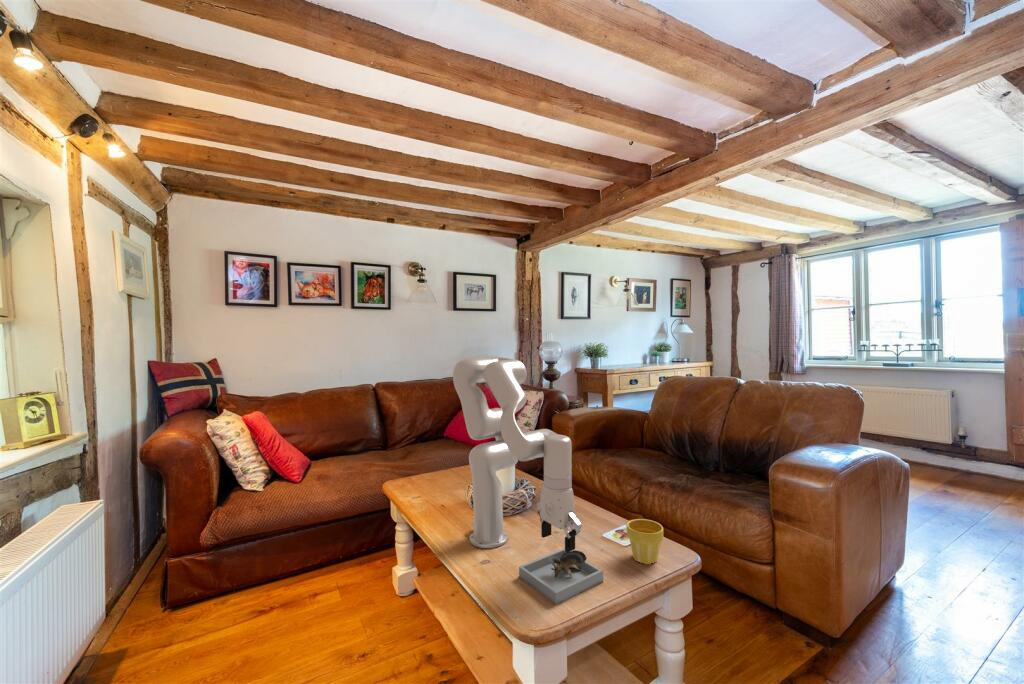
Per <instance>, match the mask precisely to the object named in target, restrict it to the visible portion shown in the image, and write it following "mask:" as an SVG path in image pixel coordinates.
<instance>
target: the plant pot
mask: <svg viewBox="0 0 1024 684" xmlns="http://www.w3.org/2000/svg"><path fill="white" fill-rule="evenodd" d="M626 536H627V538H628V539H629V543H630V547H631V553H632V557H633V559H634V560H635V561H636V562H637V561H638V562H637V563H639V562H640V563H639V564H642V563H644V564H643V565H652V564H651V563H653V564H655V563H657V561H658V557H659V552H660V548H661V544H662V542H663V541H664V527H663V525H662V524H661V523H659V522H657V521H654V520H651V519H645V518H637V519H636V518H635V519H630V520H628V522H627V523H626ZM654 562H655V563H654Z"/></svg>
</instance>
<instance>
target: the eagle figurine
mask: <svg viewBox="0 0 1024 684" xmlns="http://www.w3.org/2000/svg"><path fill="white" fill-rule="evenodd" d="M587 559H588V557H587V555H586V554H585V553H584V552H583V551H580V550H576V549H574V550H572V551H570V552H566V553H563V555H562V556H561V557H560V560H558V559H556V558H555V557H549V560H550V561H551V562H552V563H551V564H552V565H553V566H554V568H555V569H554V568H551V569H552V570H554V571H555V578H556V577H557V576H558V575H559V572H560V571H561V570H563V571H565V572H566V573H568V574H569V575H570V576H571V578H572V573H571V571H570V570H569V568H575V569H578V570H581V568H580V567H578V566H576V565H575V564H581V563H584V562H585V561H587ZM555 564H557V565H555Z"/></svg>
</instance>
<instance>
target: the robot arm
mask: <svg viewBox="0 0 1024 684" xmlns="http://www.w3.org/2000/svg"><path fill="white" fill-rule="evenodd" d="M527 377H528V371H527V368H526V366H525V365H524V363H523V362H521V360H518V359H516V358H515V359H514V358H508V357H504V356H503V357H502V356H482V357H480V356H479V357H470V358H464V359H462V360H459V361H458V362H457V363H456V364H455V366H454V368H453V372H452V381H453V385H454V389H455V391H456V393H457V395H458V398H459V400H460V404H461V408H462V413H463V419H464V422H465V426H466V431H467V433H468V436H469V438H470V439H472V440H474V441H481V440H486V439H491V438H495V440H494V441H489V442H483V443H480V444H478V445H475V446H474V447H473V448H472V449H471V450H470V452H469V454H468V462H469V467H470V472H471V479H472V481H471V482H472V499H473V521H472V522H471V523H470V525H471V527H473V532H472V533H471V534H470V535H469V543H470V544H471V545H472V546H474V547H477V548H480V549H494V548H498V547H501V546H503V545H504V544H506V543H507V541H508V540H509V534H508V532H507V531H506V530H504V515H503V487H502V486H503V485H502V482H501V480H500V478H499V477H498V476H497V473H496V472H498V471H501V470H504V469H508V468H511V467H514V466H516V465H517V463H518V461H520V462H528V461H531V460H535V459H537V458H543V483H542V485H541V490H540V497H539V502H536V508H537V513H538V515H539V522H540V523H541V526H540V528H541V530H540V531H541V538H546V537H549V536H551V535H552V526H553V527H555V528H557V529H559V530H563V531H564V534H565V537H564V549H565V552H570V551H573V550H576V537H577V536H578V534H579V533H580V531H581V529H582V526H583V524H582V523H581V522H580V520H579V519H578V518H577V517H576V507H575V504H576V503H575V497H574V496H575V495H574V490H573V488H572V486H573V485H572V483H573V482H572V480H573V476H572V474H573V472H572V470H573V469H572V468H573V467H572V459H573V458H572V455H573V454H572V452H573V451H572V447H573V446H572V440H571V438H570V437H569V436H567V435H563V434H558V433H557V432H554V431H552V430H551V429H548V428H540V429H536V430H530V431H526V432H522V431H521V429H520V428H519V425H518V424H517V420H516V416H515V415H516V414H517V412H519V411H520V410H521V409H523V408H524V406H525V405H526V404H527V401H528V396H527V394H526V392H525V391H524V390H523V387H522V386H521V385H522V384H524V383H525V382H526V381H527ZM478 383H480V384H482V383H486V384H487V386H488V388H489V389H490V391H491V393H492V395H493V396H494V398H495V400H496V402H497V404H498V405H499V406H500V407H494V408H489V405H488V402H487V398H486V395H485V394H484V392H483V391H482V389H481V388H480V387H479V386H477V384H478ZM569 528H570V529H569ZM569 530H570V531H569Z"/></svg>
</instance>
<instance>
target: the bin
mask: <svg viewBox="0 0 1024 684" xmlns="http://www.w3.org/2000/svg"><path fill="white" fill-rule="evenodd" d="M563 553H566V552H565V548H562V549H559V550H557V551H554V552H552V553H549V554H546V555H545V556H542V557H539V558H537V559H535V560H533V561H529V562H527V563H524V564H522V565H520V566H518V577H520V578H519V579H520V580H522V581H524V582H525V583H526V584H528V586H530V587H531V588H533V589H534V590H536V591H537V592H538V593H540V594H541V595H542V596H543V597H544V598H547V600H549V601H550V602H551V603H553V604H554V605H556V606H559V605H560V604H562V603H563V602H565V601H567V600H570V599H571V598H574V597H576V596H578V595H580V594H582V593H584V592H586V591H588V590H590V589H592V588H594V587H596V586H598V585H600V584H602V583H604V570H602V569H601V568H599V567H597V566H595V565H594V564H592V563H590V562H588V561H587V560H585V562H584V563H581V564H575V565H576V566H578V567H580V568H581V570H578V569H575V568H569V570H570V571H571V573H572V578H571V576H570V575H569V574H568V573H566V572H565V571H563V570H561V571H560V572H559V575H558V576H557V577H556V578H555V571H554V570H552V569H551V568H554V566H553V565H552V564H551V563H552V562H551V561H550V560H549V557H555V558H556V559H558V560H560V557H561V556H562V555H563ZM555 565H557V564H555ZM554 569H555V568H554Z"/></svg>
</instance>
